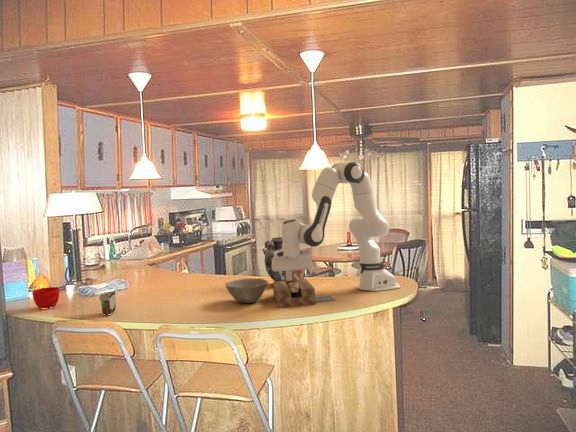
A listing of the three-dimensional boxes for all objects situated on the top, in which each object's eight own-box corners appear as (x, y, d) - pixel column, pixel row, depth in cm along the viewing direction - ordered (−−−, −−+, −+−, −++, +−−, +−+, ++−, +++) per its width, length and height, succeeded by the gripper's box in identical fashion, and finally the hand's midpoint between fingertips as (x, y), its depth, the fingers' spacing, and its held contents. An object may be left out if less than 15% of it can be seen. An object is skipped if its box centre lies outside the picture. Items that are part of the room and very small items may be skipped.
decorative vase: (277, 289, 280) (274, 240, 279) (258, 286, 294) (255, 239, 293) (305, 283, 293) (302, 236, 292) (286, 280, 308) (283, 235, 306)
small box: (293, 294, 267) (291, 270, 266) (286, 292, 272) (285, 268, 272) (305, 291, 272) (304, 268, 271) (298, 289, 277) (297, 266, 276)
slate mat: (331, 296, 257) (331, 295, 257) (335, 300, 247) (335, 299, 247) (312, 297, 256) (312, 296, 256) (315, 302, 246) (315, 301, 246)
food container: (104, 311, 253) (102, 291, 252) (116, 310, 253) (115, 290, 252) (97, 317, 240) (95, 297, 240) (110, 316, 241) (108, 296, 240)
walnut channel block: (307, 293, 266) (306, 279, 265) (315, 304, 242) (314, 288, 241) (273, 296, 263) (272, 281, 263) (278, 307, 240) (277, 291, 239)
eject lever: (296, 293, 261) (295, 283, 263) (300, 291, 244) (299, 280, 245) (286, 294, 261) (285, 283, 262) (290, 292, 243) (289, 281, 244)
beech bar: (296, 291, 255) (295, 283, 256) (299, 289, 245) (298, 281, 246) (288, 291, 254) (288, 283, 255) (291, 290, 245) (290, 282, 245)
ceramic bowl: (236, 309, 240) (234, 289, 240) (219, 301, 261) (218, 282, 260) (277, 302, 251) (275, 282, 250) (258, 294, 271) (257, 276, 270)
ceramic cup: (47, 312, 256) (45, 293, 255) (28, 310, 265) (27, 291, 264) (70, 306, 267) (68, 288, 266) (51, 304, 276) (49, 286, 275)
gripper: (310, 249, 254) (311, 276, 255) (270, 252, 251) (271, 279, 252) (312, 251, 248) (313, 278, 249) (271, 253, 245) (273, 281, 246)
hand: (292, 279), depth 250 cm, fingers open, 8 cm apart
